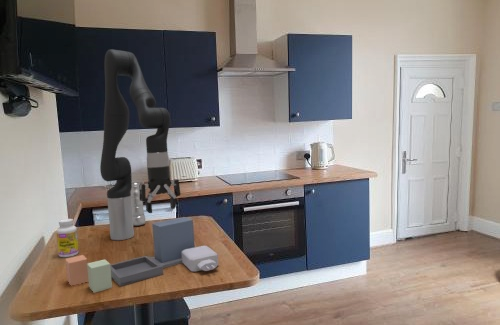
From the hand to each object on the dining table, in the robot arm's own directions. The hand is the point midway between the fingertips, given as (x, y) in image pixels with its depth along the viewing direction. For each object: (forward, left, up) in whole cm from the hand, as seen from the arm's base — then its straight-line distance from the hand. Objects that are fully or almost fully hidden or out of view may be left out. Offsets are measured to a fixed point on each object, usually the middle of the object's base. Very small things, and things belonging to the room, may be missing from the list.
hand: (161, 210), depth 133 cm
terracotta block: (+6, -30, -15) cm, 34 cm away
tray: (+12, -15, -15) cm, 25 cm away
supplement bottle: (-23, -27, -16) cm, 39 cm away
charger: (+22, +3, -16) cm, 27 cm away
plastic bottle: (-45, +7, -16) cm, 48 cm away
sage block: (+15, -26, -15) cm, 34 cm away
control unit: (+9, 0, -15) cm, 18 cm away
